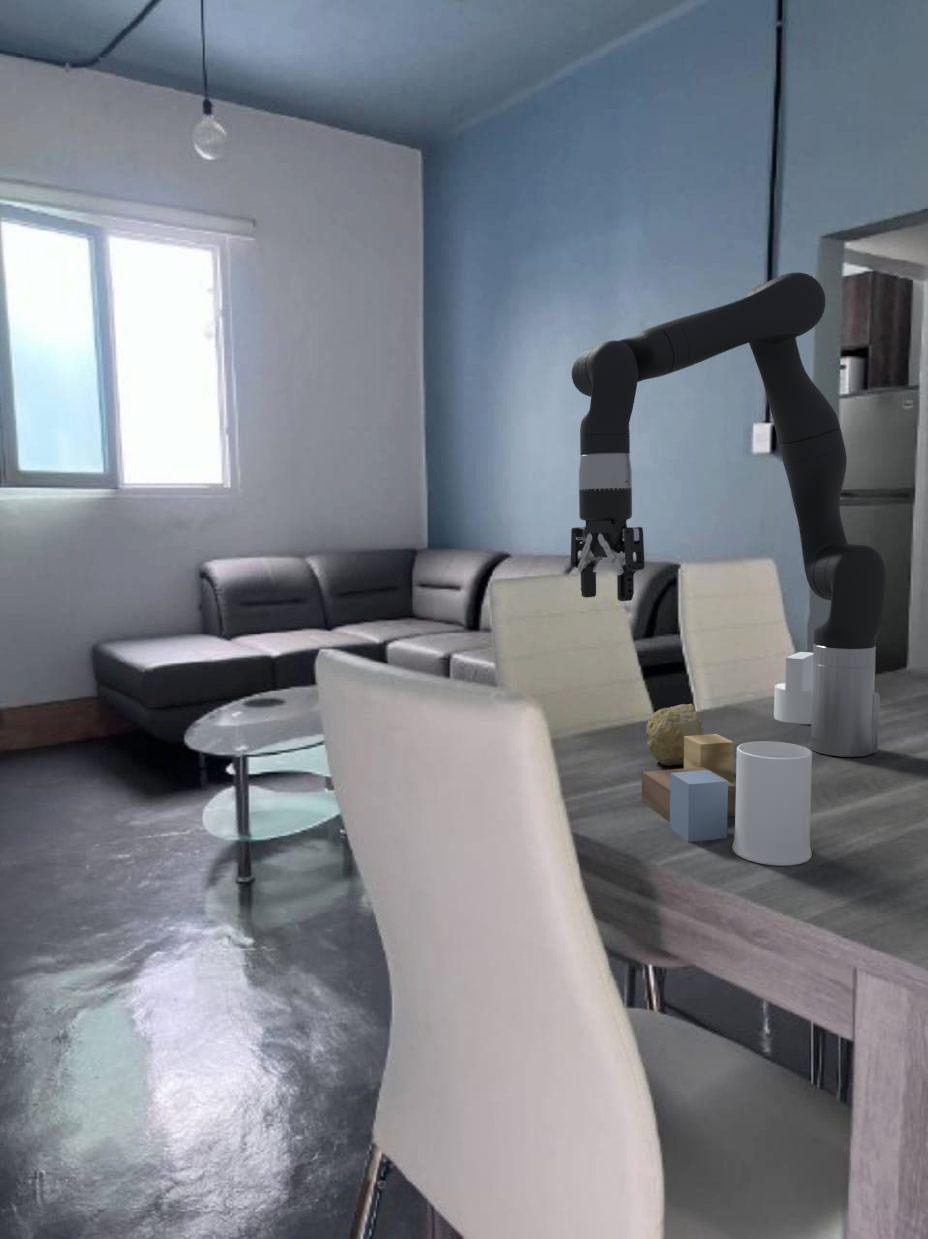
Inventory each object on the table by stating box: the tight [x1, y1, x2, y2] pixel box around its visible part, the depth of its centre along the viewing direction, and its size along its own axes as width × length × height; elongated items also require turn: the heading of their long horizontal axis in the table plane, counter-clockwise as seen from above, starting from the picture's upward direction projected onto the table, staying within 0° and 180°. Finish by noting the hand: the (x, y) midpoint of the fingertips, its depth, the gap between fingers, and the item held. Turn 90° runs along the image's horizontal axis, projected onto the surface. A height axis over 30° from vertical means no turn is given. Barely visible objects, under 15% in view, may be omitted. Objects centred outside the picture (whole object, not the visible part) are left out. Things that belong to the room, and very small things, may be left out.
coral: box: [645, 703, 704, 767], centre depth 143 cm, size 10×10×10 cm
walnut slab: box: [641, 767, 736, 822], centre depth 121 cm, size 9×9×4 cm
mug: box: [731, 740, 813, 867], centre depth 106 cm, size 12×8×12 cm
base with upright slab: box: [773, 651, 813, 725], centre depth 173 cm, size 9×9×12 cm
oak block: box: [683, 733, 735, 784], centre depth 131 cm, size 5×5×7 cm
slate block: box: [669, 770, 728, 843], centre depth 112 cm, size 5×5×7 cm
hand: (606, 598), depth 135 cm, fingers open, 8 cm apart
